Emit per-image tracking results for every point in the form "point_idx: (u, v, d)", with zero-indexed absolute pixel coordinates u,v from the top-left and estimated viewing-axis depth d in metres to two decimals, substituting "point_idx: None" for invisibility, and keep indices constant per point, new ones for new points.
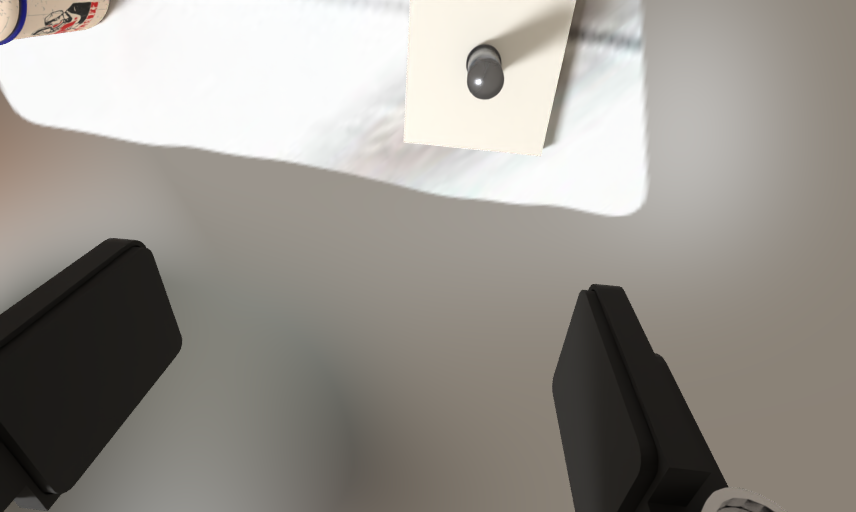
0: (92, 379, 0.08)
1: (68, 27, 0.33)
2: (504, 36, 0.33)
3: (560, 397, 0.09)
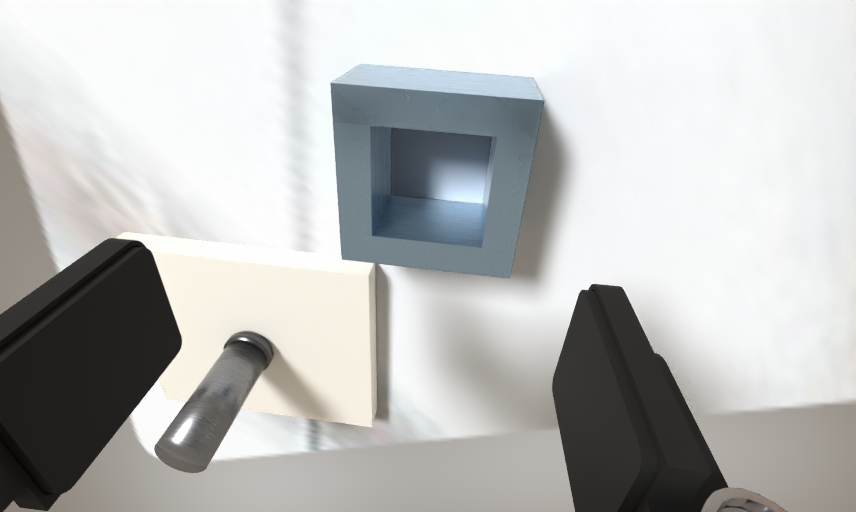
0: (92, 379, 0.08)
1: None
2: (287, 366, 0.26)
3: (560, 397, 0.09)
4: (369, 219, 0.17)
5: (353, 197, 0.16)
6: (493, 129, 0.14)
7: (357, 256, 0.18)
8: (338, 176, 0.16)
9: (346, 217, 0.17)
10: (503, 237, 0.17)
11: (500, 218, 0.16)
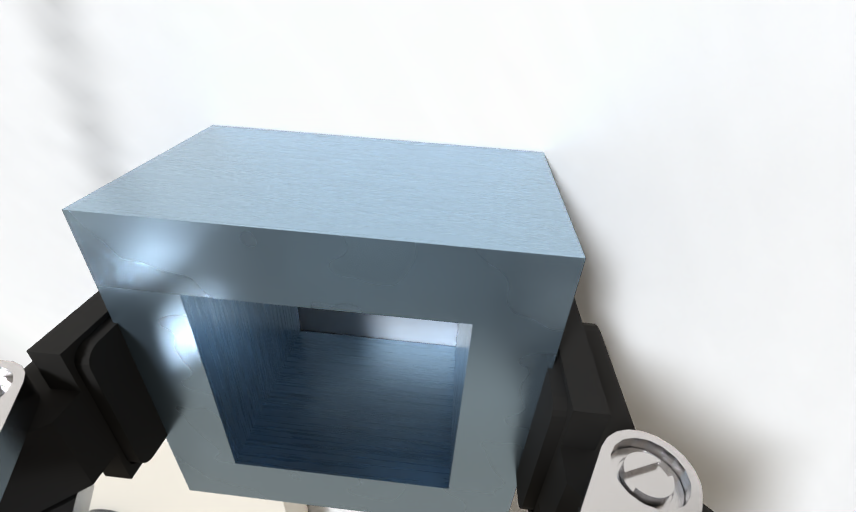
0: None
1: None
2: None
3: None
4: (224, 441, 0.08)
5: (183, 409, 0.08)
6: (462, 310, 0.06)
7: (217, 487, 0.09)
8: (142, 376, 0.08)
9: (178, 437, 0.09)
10: (490, 477, 0.08)
11: (483, 452, 0.08)
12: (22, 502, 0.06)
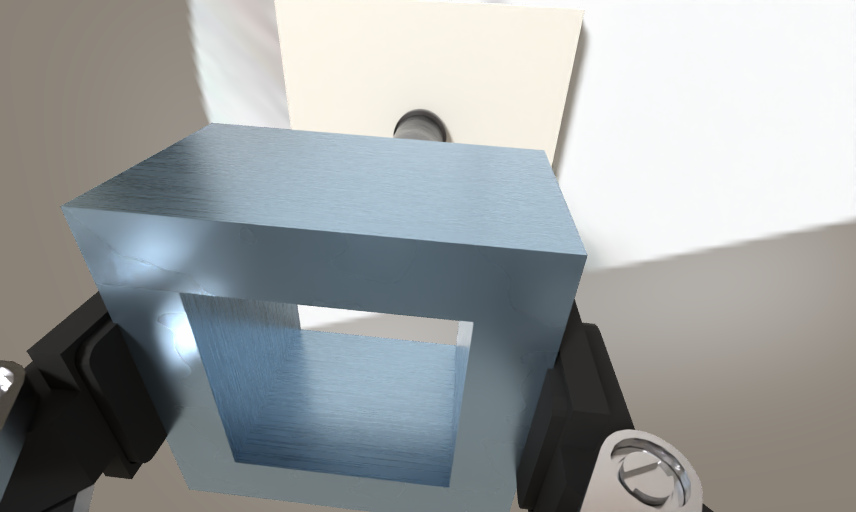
0: None
1: None
2: None
3: None
4: (224, 440, 0.08)
5: (182, 407, 0.08)
6: (463, 307, 0.06)
7: (216, 486, 0.09)
8: (141, 375, 0.08)
9: (178, 435, 0.08)
10: (490, 476, 0.08)
11: (483, 451, 0.08)
12: (22, 502, 0.06)
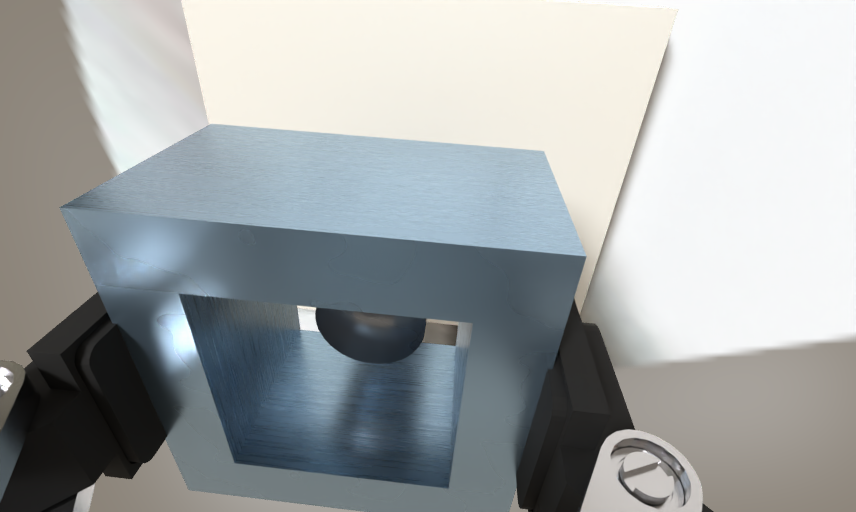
0: None
1: None
2: None
3: None
4: (224, 441, 0.08)
5: (181, 408, 0.08)
6: (462, 308, 0.06)
7: (216, 487, 0.09)
8: None
9: (177, 436, 0.08)
10: (490, 477, 0.08)
11: (483, 452, 0.08)
12: (22, 502, 0.06)
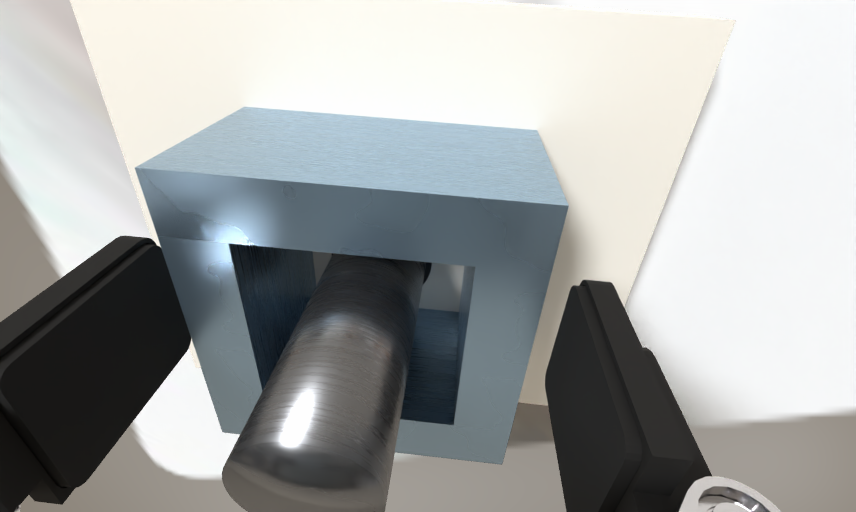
0: (105, 375, 0.08)
1: None
2: (451, 288, 0.13)
3: (552, 392, 0.09)
4: (257, 382, 0.10)
5: (222, 351, 0.09)
6: (467, 254, 0.07)
7: None
8: (189, 320, 0.09)
9: (216, 378, 0.10)
10: (490, 413, 0.10)
11: (483, 388, 0.09)
12: None
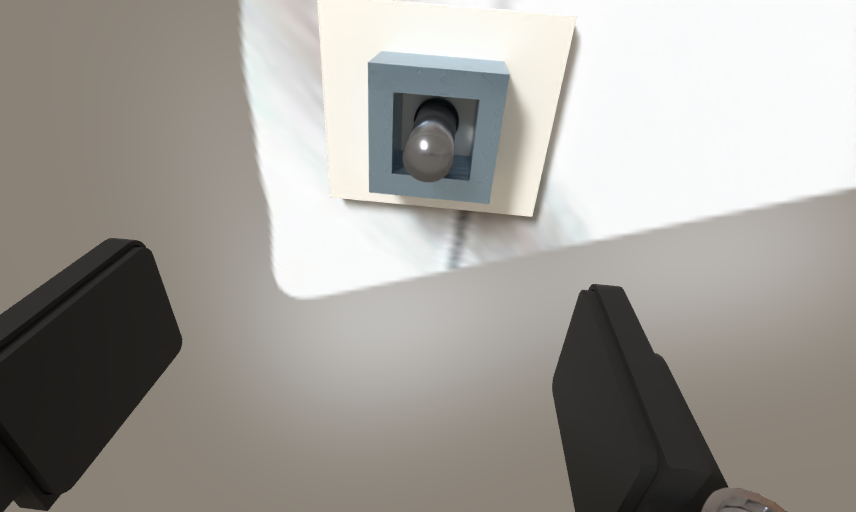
0: (92, 379, 0.08)
1: None
2: (466, 142, 0.27)
3: (560, 397, 0.09)
4: (390, 160, 0.24)
5: (379, 144, 0.23)
6: (476, 94, 0.22)
7: (380, 189, 0.25)
8: (369, 129, 0.23)
9: (374, 159, 0.24)
10: (484, 172, 0.24)
11: (482, 158, 0.23)
12: None
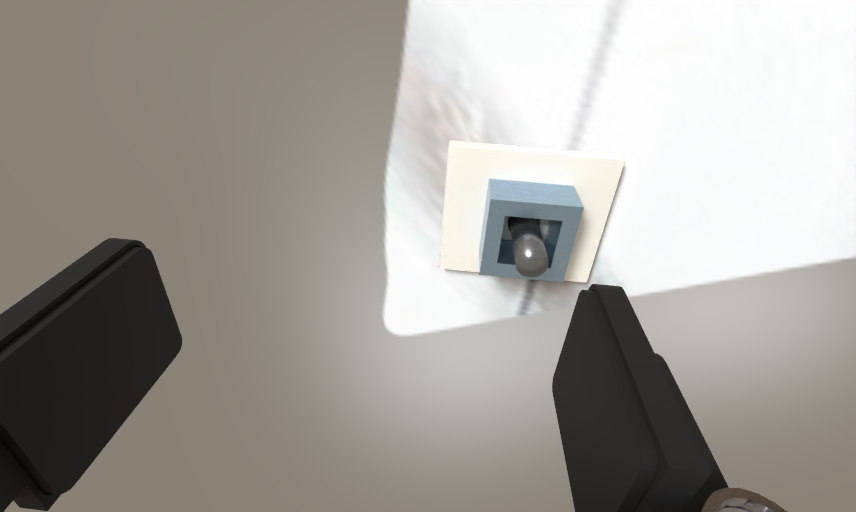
0: (92, 379, 0.08)
1: None
2: (542, 234, 0.38)
3: (560, 397, 0.09)
4: (497, 255, 0.35)
5: (491, 245, 0.35)
6: (561, 218, 0.33)
7: (487, 272, 0.36)
8: (485, 236, 0.34)
9: (486, 254, 0.35)
10: (561, 263, 0.35)
11: (560, 255, 0.35)
12: None
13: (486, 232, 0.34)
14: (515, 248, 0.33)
